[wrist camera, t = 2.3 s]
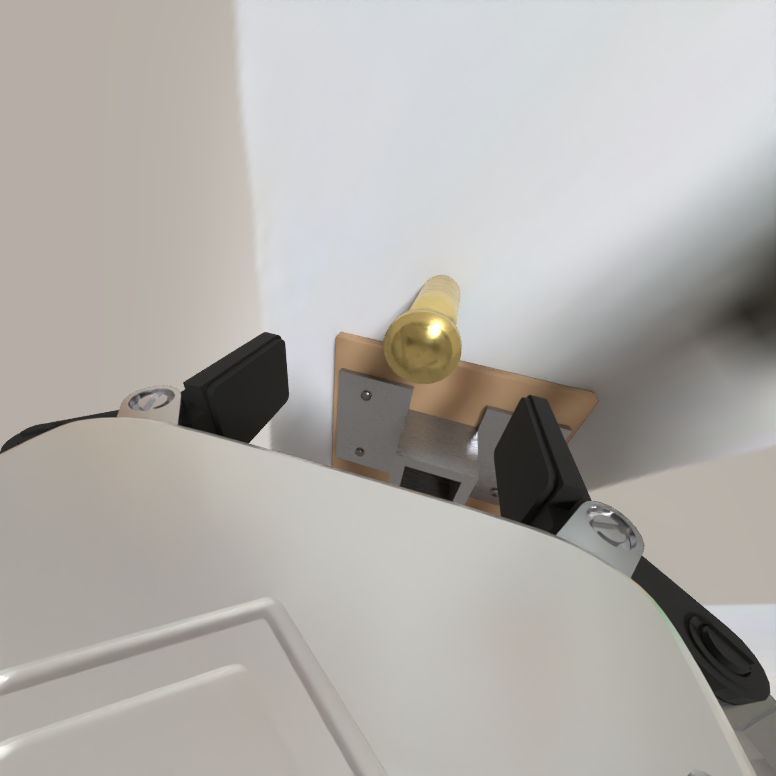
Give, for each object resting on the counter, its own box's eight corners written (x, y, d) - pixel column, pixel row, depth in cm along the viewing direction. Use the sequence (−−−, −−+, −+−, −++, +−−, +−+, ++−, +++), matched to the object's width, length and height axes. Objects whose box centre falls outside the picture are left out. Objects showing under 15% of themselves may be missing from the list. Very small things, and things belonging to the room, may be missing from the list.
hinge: (569, 426, 24) (595, 483, 19) (513, 505, 31) (521, 562, 26) (341, 367, 26) (312, 404, 21) (337, 453, 33) (314, 496, 28)
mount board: (593, 392, 23) (598, 400, 22) (508, 512, 33) (509, 522, 32) (340, 331, 26) (335, 336, 25) (335, 460, 36) (331, 467, 35)
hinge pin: (472, 275, 20) (471, 322, 12) (457, 323, 23) (449, 391, 14) (421, 264, 21) (388, 304, 13) (411, 313, 23) (379, 373, 15)
